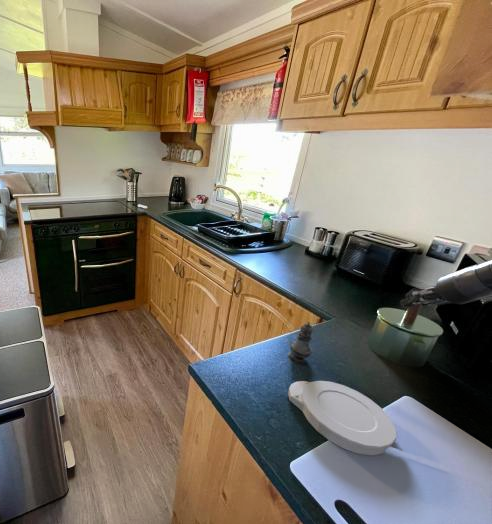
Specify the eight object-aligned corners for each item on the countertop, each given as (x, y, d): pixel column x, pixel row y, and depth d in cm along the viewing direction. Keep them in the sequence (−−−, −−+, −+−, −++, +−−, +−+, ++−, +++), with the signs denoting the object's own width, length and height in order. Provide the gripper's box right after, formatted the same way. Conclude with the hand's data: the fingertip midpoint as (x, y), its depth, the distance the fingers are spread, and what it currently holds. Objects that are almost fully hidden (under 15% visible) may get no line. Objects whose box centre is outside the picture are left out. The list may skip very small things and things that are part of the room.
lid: (303, 373, 77) (305, 364, 76) (398, 425, 63) (403, 415, 62) (273, 406, 66) (276, 396, 65) (381, 477, 52) (387, 465, 51)
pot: (408, 343, 94) (421, 315, 91) (437, 380, 78) (455, 348, 74) (359, 331, 99) (369, 304, 95) (377, 365, 82) (390, 333, 79)
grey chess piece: (283, 357, 83) (293, 321, 79) (290, 348, 87) (301, 314, 83) (305, 367, 79) (317, 330, 75) (312, 358, 83) (323, 322, 79)
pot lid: (426, 318, 88) (439, 291, 85) (453, 343, 76) (469, 313, 73) (370, 306, 93) (379, 281, 90) (386, 328, 81) (398, 299, 78)
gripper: (448, 297, 67) (388, 315, 83) (506, 301, 68) (435, 318, 83) (436, 267, 71) (380, 291, 86) (492, 271, 71) (426, 294, 86)
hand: (408, 304), depth 85 cm, fingers closed on pot lid, 2 cm apart
